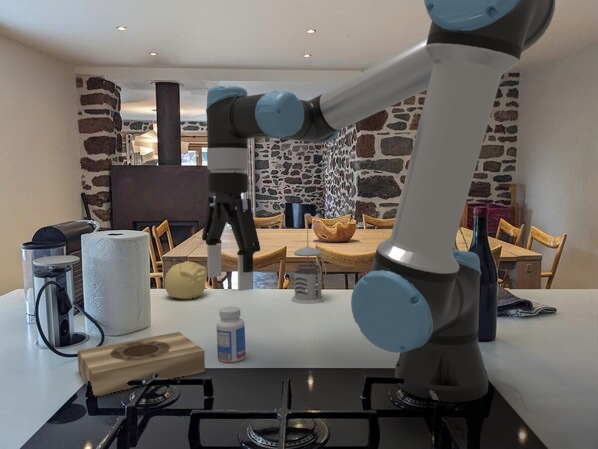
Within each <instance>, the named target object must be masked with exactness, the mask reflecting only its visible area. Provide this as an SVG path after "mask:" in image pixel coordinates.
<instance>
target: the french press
mask: <svg viewBox="0 0 598 449" xmlns="http://www.w3.org/2000/svg"><path fill="white" fill-rule="evenodd" d="M304 218H306V220H307V222H306V224H307V225H306V228H307V230H306V232H307V234H306V235H307V236H306V239H307V240H306V242H307V243H306V244H307V245H306V247H301V248H299V249H297V250H295V251H294V252H293V254H294V256H297V257H307V262H306V264H304V263H303V264H302V263H301V264H297V265H296V266H295V269H297V270H295V271H293V273H294V274H293V275H294V276H293V277H294V290H293V291H294V296H292V298H291V299H292V300H291V302H293V301H294V303H295V302H297V303H296V304H301V305H302V304H303V305H314V304H320V303H323V302H324V301H325V300H326V299H325V297H323V296H322V284H324V282H325V281H326V277H327V269H326V265H325V263H324V261H323V260H322V259H321V258H318V260H317V259H314V260H313V263H314V264H313V263H312V264H310V263H309V257H319V256H320V255H322V253H323V252H322V251H321V250H319V249H318V248H315V247H312V246H309V218H312V214H311V213H305V214H304ZM320 261H321V262H322V264H323V267H324V279H323V281H322V267H321V264H320ZM319 269H320V270H319ZM316 280H317V281H316Z"/></svg>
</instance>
